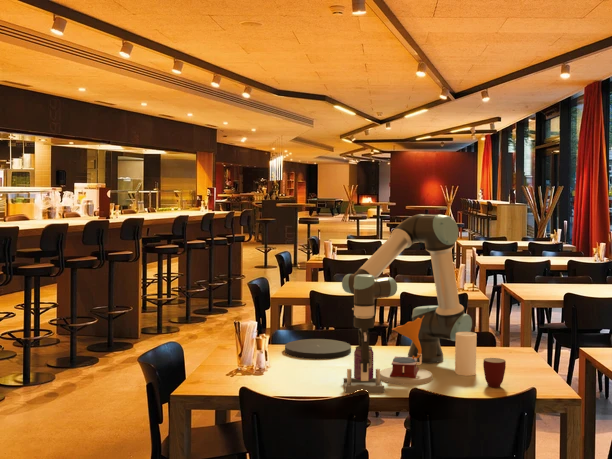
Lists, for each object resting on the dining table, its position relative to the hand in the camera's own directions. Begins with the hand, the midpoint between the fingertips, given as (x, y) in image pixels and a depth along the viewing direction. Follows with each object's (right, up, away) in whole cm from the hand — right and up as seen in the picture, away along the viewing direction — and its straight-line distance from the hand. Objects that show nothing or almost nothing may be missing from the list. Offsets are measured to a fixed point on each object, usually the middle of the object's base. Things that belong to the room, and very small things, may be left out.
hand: (363, 377), depth 283 cm
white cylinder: (+43, -3, +23) cm, 49 cm away
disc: (-16, -1, +62) cm, 64 cm away
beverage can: (0, -1, 0) cm, 1 cm away
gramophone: (+18, -3, +16) cm, 24 cm away
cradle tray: (0, -4, 0) cm, 4 cm away
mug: (+49, -4, +4) cm, 49 cm away
